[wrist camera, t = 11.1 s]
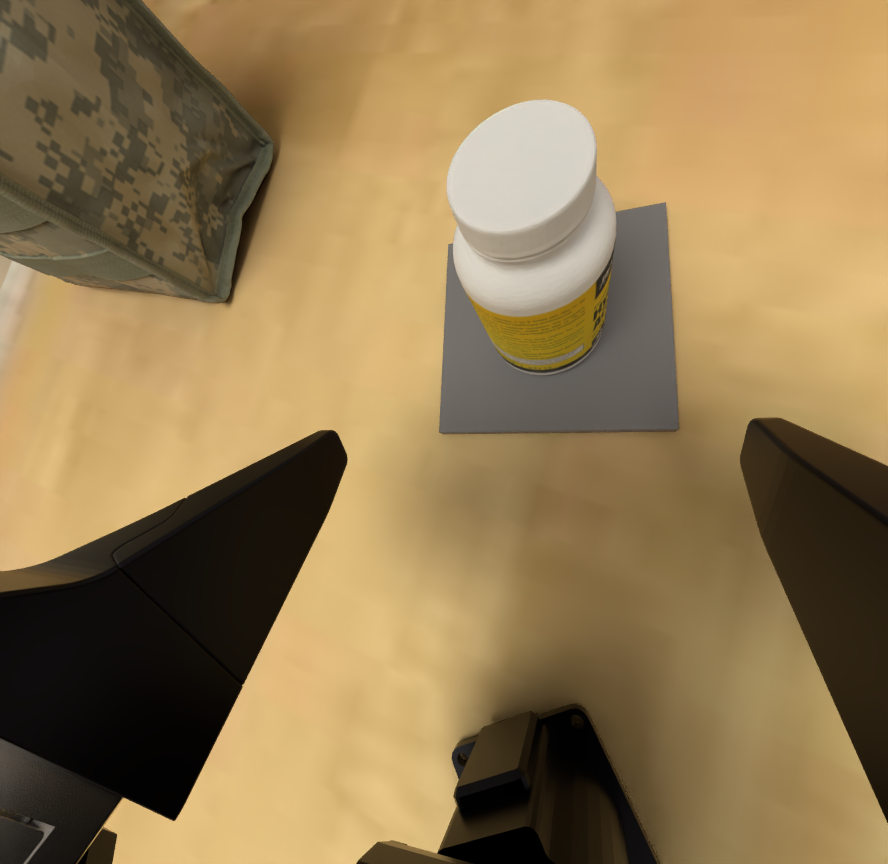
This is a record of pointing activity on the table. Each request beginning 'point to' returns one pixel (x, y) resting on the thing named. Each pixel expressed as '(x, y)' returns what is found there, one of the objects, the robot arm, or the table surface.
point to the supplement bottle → (534, 234)
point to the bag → (120, 152)
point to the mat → (596, 377)
